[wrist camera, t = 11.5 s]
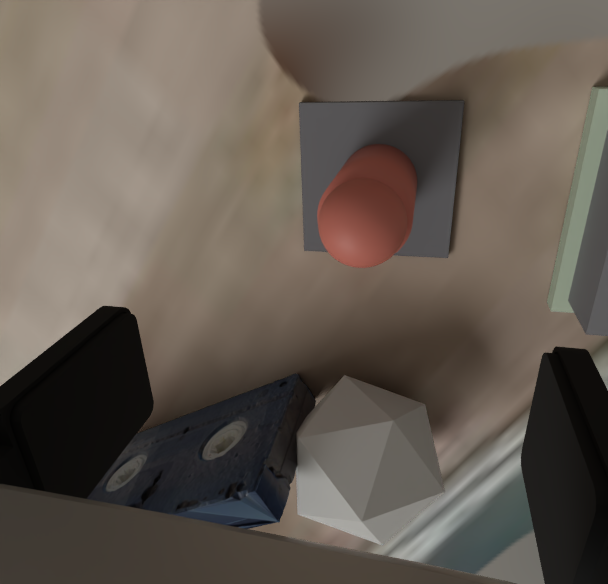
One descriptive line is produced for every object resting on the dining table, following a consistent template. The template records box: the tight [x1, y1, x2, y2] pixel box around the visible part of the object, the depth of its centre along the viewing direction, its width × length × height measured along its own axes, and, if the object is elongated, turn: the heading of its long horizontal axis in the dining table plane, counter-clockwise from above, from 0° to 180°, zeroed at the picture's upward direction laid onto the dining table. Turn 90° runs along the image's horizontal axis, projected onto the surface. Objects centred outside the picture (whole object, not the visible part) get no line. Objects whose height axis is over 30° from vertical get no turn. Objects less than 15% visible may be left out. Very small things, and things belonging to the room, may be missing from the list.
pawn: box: [317, 144, 417, 268], centre depth 22 cm, size 4×4×8 cm
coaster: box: [299, 100, 464, 258], centre depth 26 cm, size 8×8×1 cm
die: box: [296, 375, 445, 545], centre depth 30 cm, size 8×9×10 cm
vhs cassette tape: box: [87, 374, 316, 529], centre depth 33 cm, size 18×3×10 cm, turn 120°
